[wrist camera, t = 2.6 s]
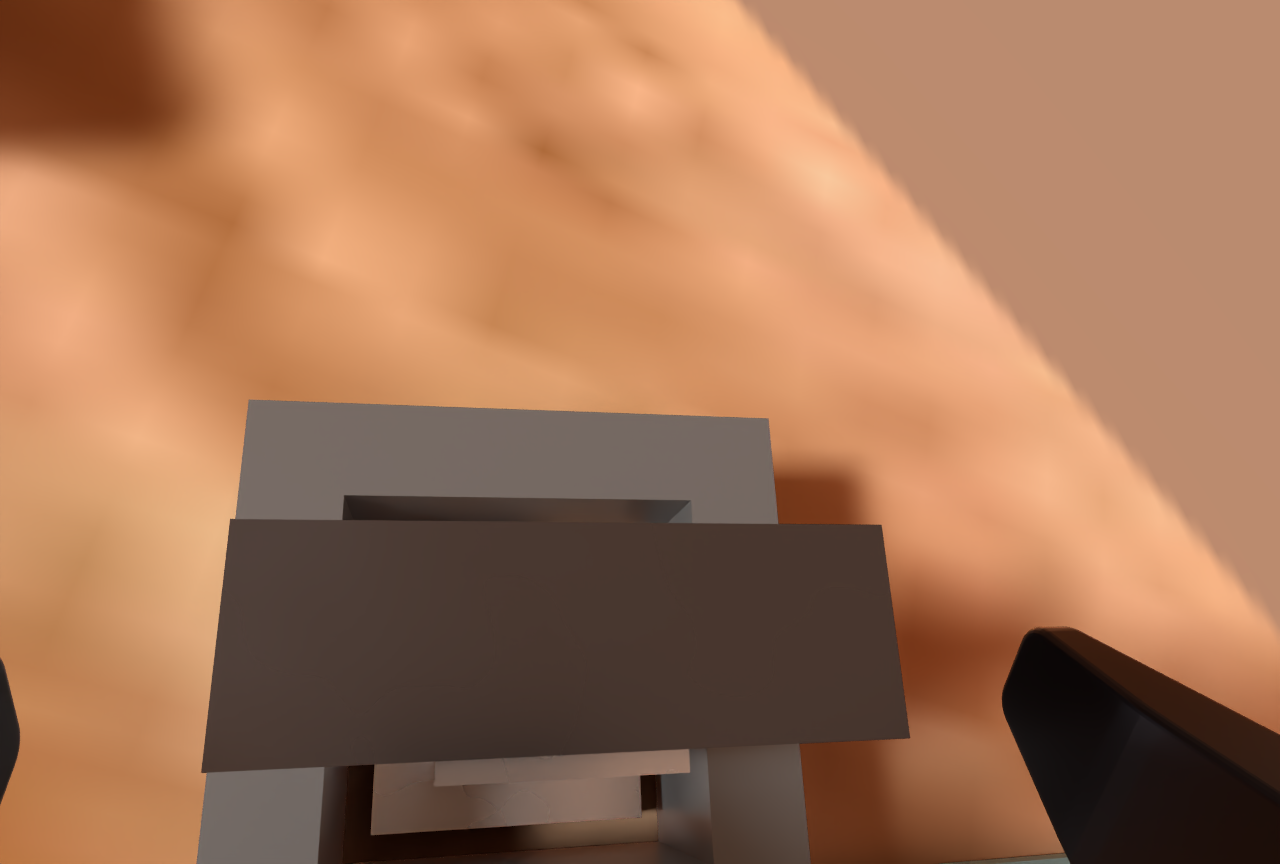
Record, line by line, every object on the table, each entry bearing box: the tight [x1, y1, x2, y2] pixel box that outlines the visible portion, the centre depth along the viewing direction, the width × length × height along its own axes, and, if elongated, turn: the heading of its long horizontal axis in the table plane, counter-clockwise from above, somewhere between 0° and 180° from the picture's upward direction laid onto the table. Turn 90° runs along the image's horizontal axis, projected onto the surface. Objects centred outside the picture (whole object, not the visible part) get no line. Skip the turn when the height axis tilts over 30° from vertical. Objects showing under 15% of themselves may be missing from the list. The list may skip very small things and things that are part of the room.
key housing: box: [197, 400, 811, 864], centre depth 15 cm, size 8×8×4 cm
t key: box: [201, 519, 910, 835], centre depth 12 cm, size 4×6×9 cm
